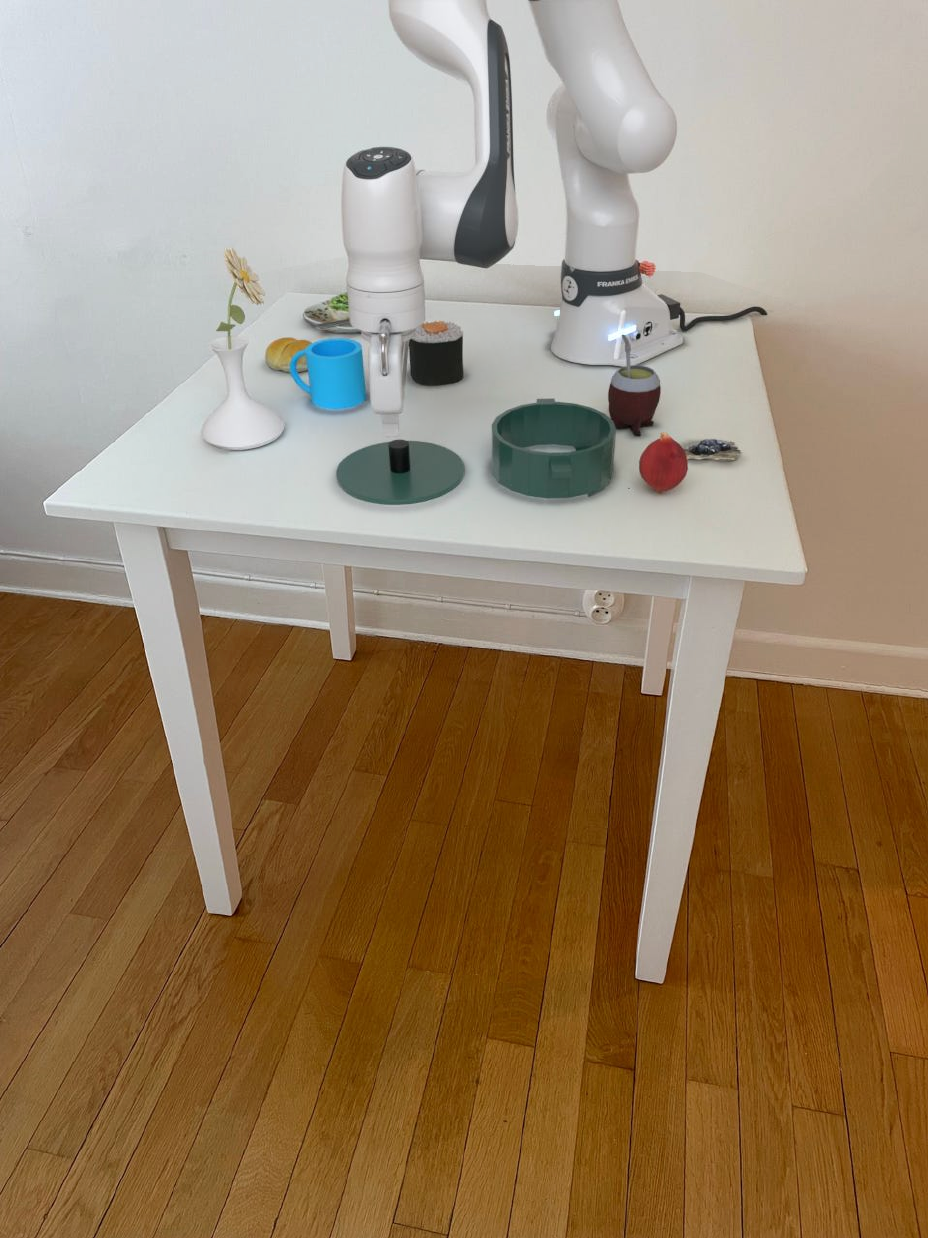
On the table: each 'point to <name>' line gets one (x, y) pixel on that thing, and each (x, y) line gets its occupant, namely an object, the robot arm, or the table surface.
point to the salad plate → (331, 315)
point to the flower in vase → (239, 377)
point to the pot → (553, 470)
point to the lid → (400, 472)
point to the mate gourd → (633, 395)
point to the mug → (333, 373)
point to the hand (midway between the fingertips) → (393, 418)
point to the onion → (663, 464)
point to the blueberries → (712, 450)
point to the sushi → (436, 354)
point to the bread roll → (286, 354)
